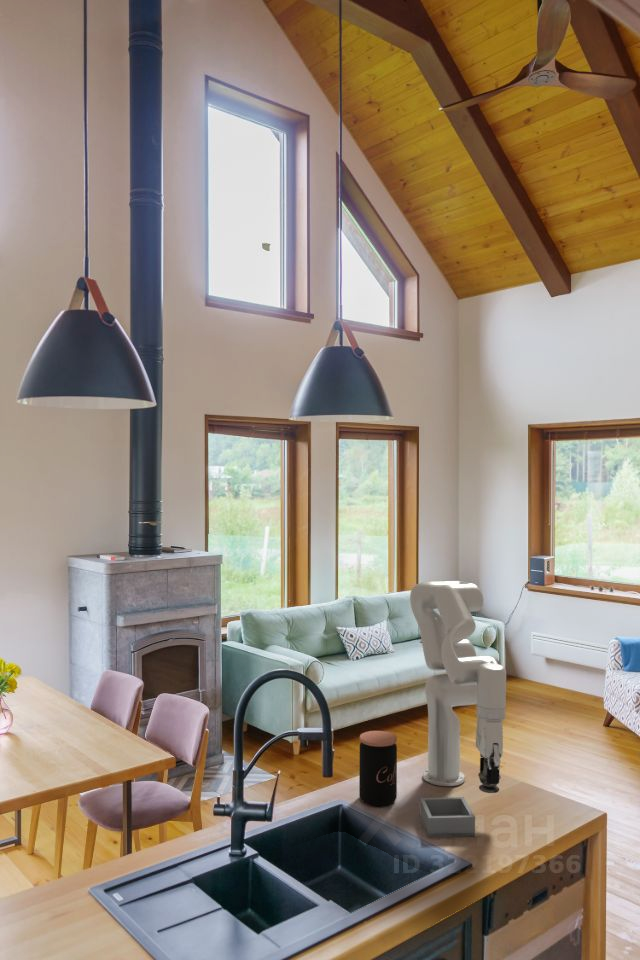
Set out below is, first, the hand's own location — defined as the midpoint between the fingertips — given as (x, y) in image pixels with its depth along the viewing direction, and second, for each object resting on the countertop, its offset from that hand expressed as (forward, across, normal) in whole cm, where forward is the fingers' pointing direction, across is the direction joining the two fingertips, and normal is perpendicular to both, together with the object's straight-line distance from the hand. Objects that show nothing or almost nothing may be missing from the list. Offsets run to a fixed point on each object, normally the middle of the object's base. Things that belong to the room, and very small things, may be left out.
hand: (489, 777), depth 204 cm
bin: (+12, +2, -12) cm, 17 cm away
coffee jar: (+13, -15, -28) cm, 34 cm away
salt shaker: (+3, 0, 0) cm, 3 cm away
